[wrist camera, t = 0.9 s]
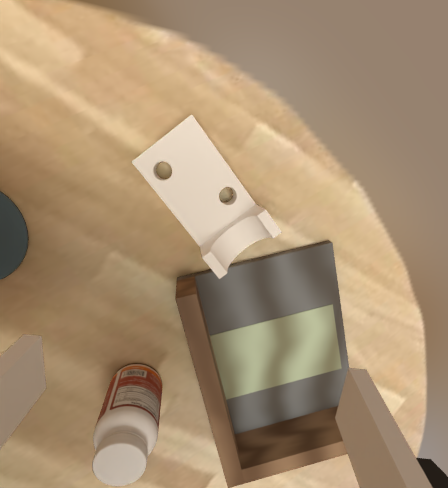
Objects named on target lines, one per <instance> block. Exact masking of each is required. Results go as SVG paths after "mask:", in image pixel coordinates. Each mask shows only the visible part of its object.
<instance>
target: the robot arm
mask: <svg viewBox="0 0 448 488" xmlns="http://www.w3.org/2000/svg"><path fill="white" fill-rule="evenodd" d="M45 389H46V379H45V368H44V357H43V346H42V336H37V335H27V334H23V335H22V336H21V337H20V338H19V339H18V340H17V341H16V342H15V343H14V344H13V345H11V346H10V347H9V348H8V349H7V350H6V351H5V352H4V353H3V354H2V355H1V356H0V449H1V448H2V447H3V445H4V444H5V443H6V441H7V440H8V439H9V437H10V436H11V435H12V433H13V432H14V431H15V429H16V428H17V427H18V425H19V424H20V423H21V421H22V420H23V419H24V417H25V416H26V415H27V413H28V412H29V411H30V409H31V408H32V407H33V405H34V404H35V403H36V401H37V400H38V399H39V397H40V396H41V395H42V393H43V392H44V391H45ZM335 419H336V422H337V425H338V428H339V431H340V433H341V436H342V439H343V442H344V445H345V447H346V450H347V453H348V456H349V459H350V462H351V464H352V467H353V470H354V473H355V476H356V478H357V481H358V484H359V487H360V488H448V477H447V476H446V474H445V473H444V472H443V471H442V470H441V469H440V468H439V467H437V465H436V464H435V463H434V462H433V461H432V460H431V459H422V458H416V457H415V455H414V454H413V452H412V450H411V448H410V447H409V445H408V443H407V441H406V439H405V438H404V436H403V434H402V432H401V431H400V429H399V427H398V425H397V423H396V422H395V420H394V418H393V416H392V415H391V413H390V411H389V409H388V407H387V406H386V404H385V402H384V400H383V399H382V397H381V395H380V393H379V391H378V390H377V388H376V386H375V384H374V383H373V381H372V379H371V377H370V375H369V374H368V372H367V370H365V369H355V368H348V371H347V375H346V379H345V382H344V386H343V390H342V394H341V397H340V401H339V405H338V409H337V413H336V416H335Z"/></svg>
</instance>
